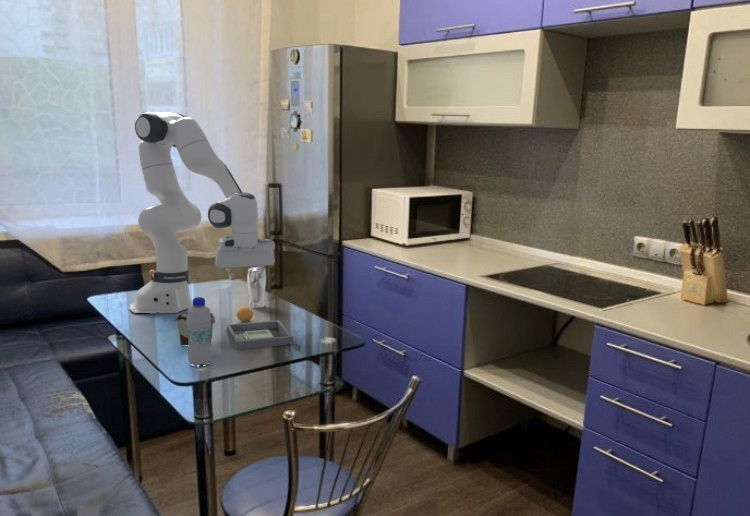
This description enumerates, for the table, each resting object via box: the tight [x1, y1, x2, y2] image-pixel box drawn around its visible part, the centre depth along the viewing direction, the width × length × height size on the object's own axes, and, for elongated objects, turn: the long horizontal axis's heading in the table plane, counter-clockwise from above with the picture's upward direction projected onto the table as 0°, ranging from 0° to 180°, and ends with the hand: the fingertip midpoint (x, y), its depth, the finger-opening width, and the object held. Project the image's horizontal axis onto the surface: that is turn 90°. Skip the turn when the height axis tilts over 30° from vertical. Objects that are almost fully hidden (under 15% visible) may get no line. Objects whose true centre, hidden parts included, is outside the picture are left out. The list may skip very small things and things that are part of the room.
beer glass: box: [246, 266, 267, 309], centre depth 226 cm, size 7×7×15 cm
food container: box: [175, 310, 216, 348], centre depth 184 cm, size 12×6×10 cm, turn 84°
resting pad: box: [242, 329, 274, 340], centre depth 193 cm, size 9×9×1 cm
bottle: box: [187, 296, 212, 366], centre depth 166 cm, size 7×7×20 cm
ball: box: [236, 306, 254, 323], centre depth 208 cm, size 6×6×6 cm
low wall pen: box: [225, 319, 294, 351], centre depth 192 cm, size 18×18×2 cm
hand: (245, 278), depth 205 cm, fingers open, 8 cm apart
